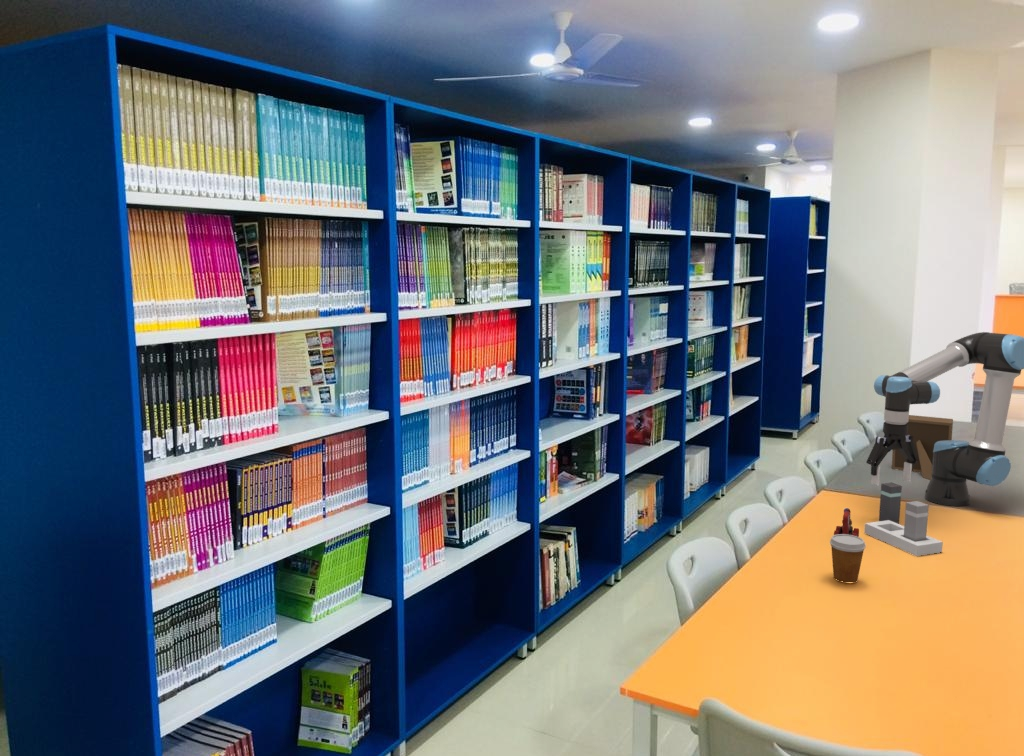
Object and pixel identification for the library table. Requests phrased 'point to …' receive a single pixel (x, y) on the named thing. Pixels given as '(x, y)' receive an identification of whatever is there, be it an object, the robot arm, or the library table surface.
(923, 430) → the photo frame
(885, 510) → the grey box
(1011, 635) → the library table surface
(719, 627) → the library table surface
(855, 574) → the disposable coffee cup
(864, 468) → the library table surface
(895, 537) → the white slotted plate
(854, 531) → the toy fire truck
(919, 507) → the grey square plug
